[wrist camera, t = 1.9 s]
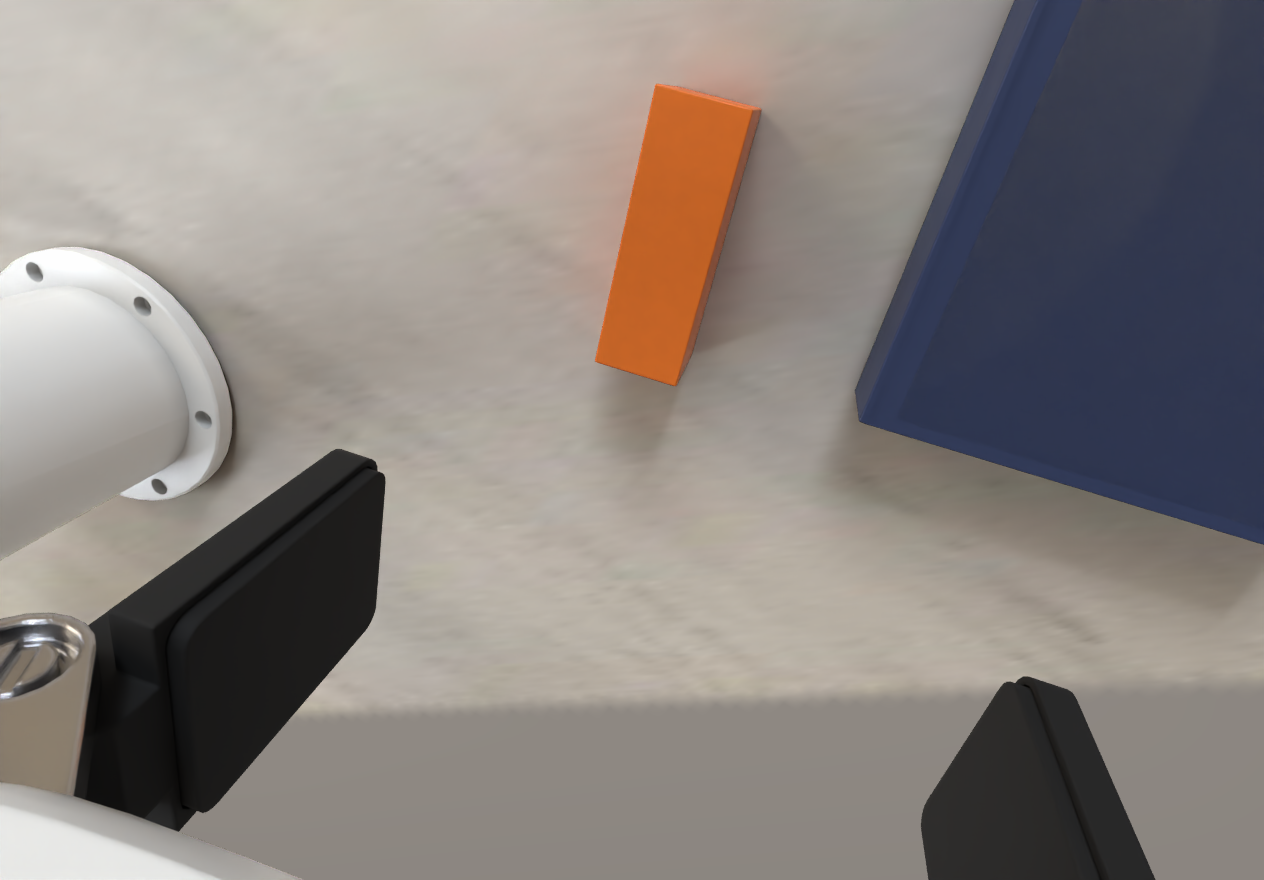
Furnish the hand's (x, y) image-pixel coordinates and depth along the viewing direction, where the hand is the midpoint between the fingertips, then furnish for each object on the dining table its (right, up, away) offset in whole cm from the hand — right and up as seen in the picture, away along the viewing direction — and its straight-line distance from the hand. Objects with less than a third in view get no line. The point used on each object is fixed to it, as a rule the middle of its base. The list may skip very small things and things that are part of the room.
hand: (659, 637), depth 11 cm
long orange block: (+2, +11, +16) cm, 19 cm away
